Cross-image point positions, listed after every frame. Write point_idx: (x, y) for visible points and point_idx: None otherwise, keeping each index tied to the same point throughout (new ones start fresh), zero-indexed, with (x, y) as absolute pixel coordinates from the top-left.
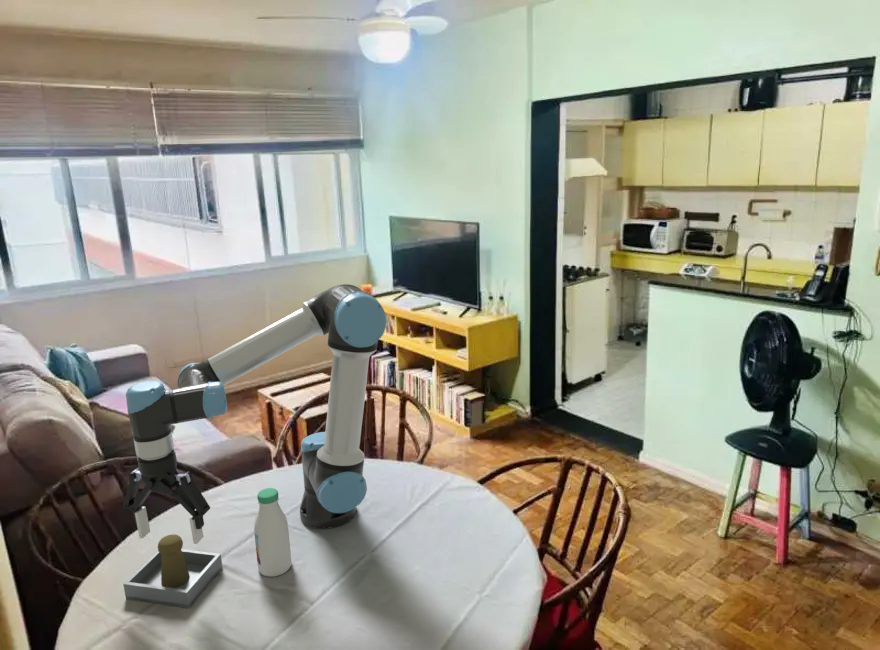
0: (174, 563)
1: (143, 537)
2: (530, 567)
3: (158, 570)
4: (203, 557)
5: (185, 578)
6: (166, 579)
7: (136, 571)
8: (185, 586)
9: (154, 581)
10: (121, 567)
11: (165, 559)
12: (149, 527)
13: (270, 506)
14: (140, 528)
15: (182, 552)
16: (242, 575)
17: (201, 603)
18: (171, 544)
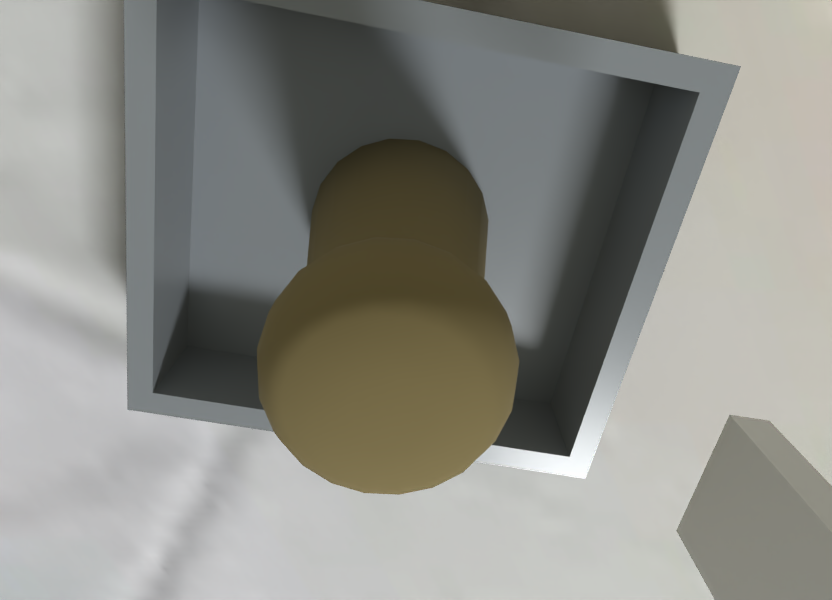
0: (339, 227)
1: (724, 431)
2: None
3: (554, 318)
4: None
5: (312, 213)
6: (418, 164)
7: (679, 222)
8: (300, 163)
9: (538, 213)
10: (803, 360)
11: (412, 234)
12: (701, 575)
13: None
14: (825, 523)
15: None
16: (10, 290)
17: (122, 13)
18: (314, 320)
